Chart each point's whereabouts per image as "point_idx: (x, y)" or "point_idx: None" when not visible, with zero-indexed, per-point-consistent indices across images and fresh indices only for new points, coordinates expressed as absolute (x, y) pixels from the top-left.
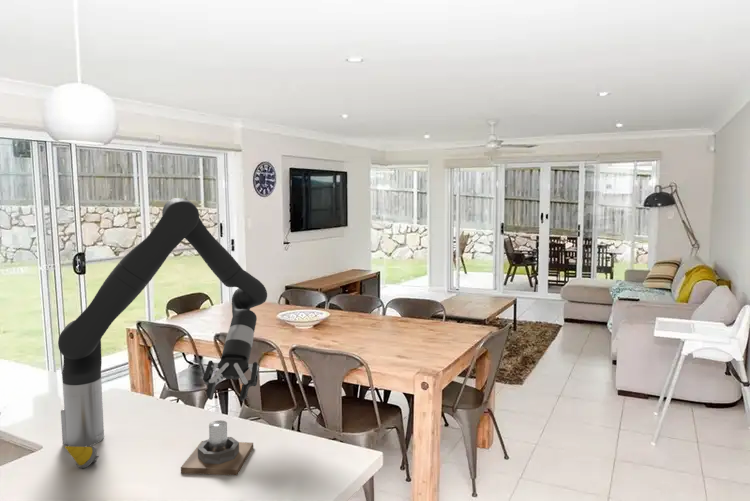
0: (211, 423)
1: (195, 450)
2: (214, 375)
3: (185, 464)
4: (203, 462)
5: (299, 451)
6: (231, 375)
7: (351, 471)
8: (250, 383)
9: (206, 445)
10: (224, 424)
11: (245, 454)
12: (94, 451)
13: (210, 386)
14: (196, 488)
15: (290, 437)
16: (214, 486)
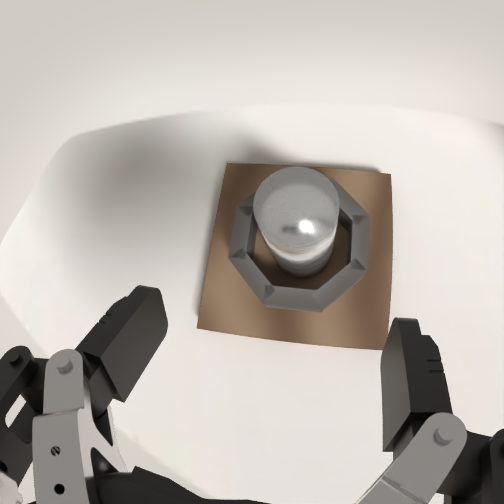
0: (331, 209)
1: (387, 276)
2: (426, 500)
3: (384, 187)
4: None
5: (87, 295)
6: (184, 492)
7: (28, 207)
8: (46, 362)
9: (349, 258)
10: (263, 201)
11: (213, 245)
12: None
13: (428, 384)
14: (319, 121)
15: None
16: (278, 128)
